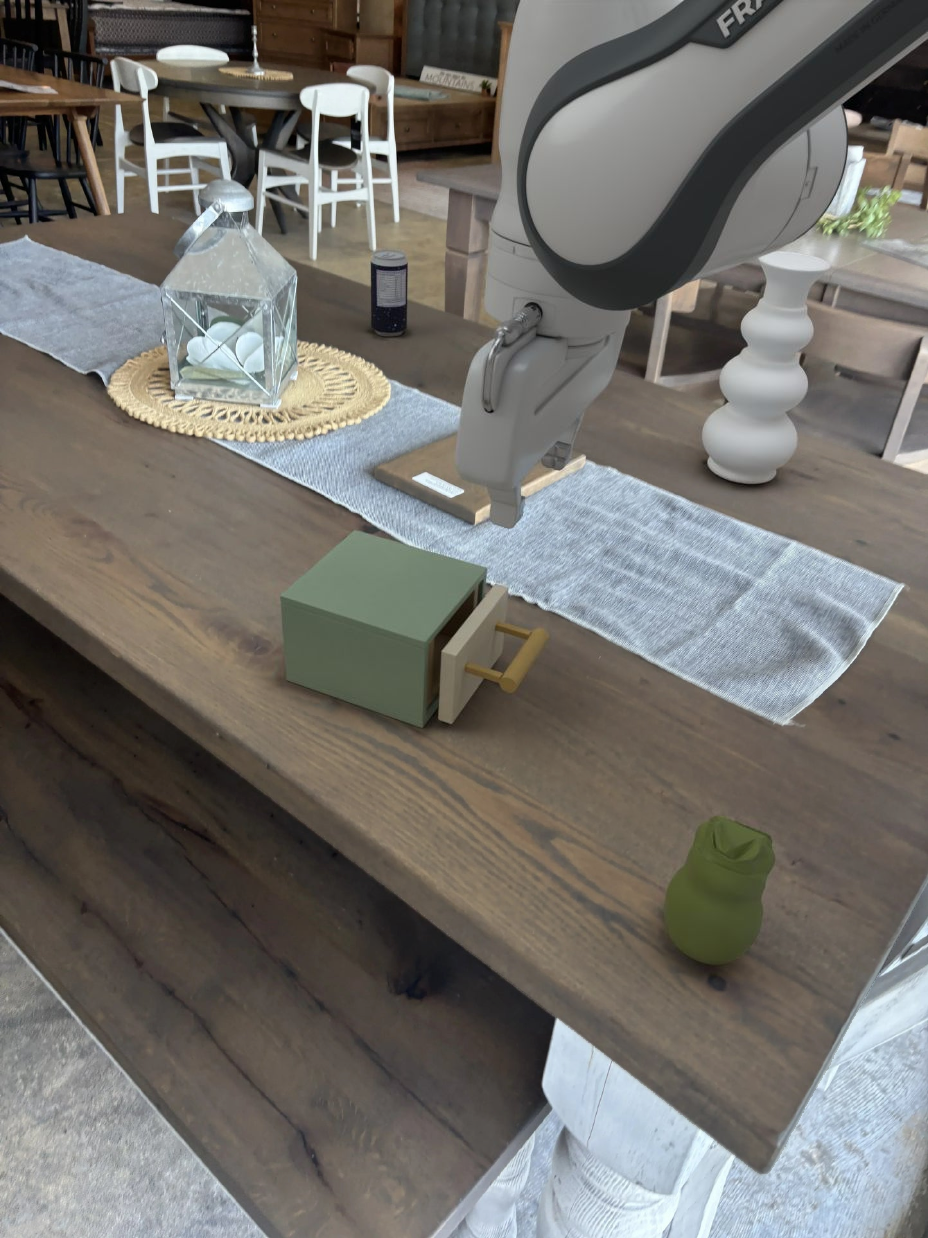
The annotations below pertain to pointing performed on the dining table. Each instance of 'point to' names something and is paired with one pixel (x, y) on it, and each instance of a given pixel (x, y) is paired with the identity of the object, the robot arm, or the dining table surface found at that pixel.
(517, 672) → the drawer
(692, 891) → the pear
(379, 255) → the beverage can
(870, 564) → the dining table surface
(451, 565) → the cabinet
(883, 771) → the dining table surface
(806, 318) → the vase
